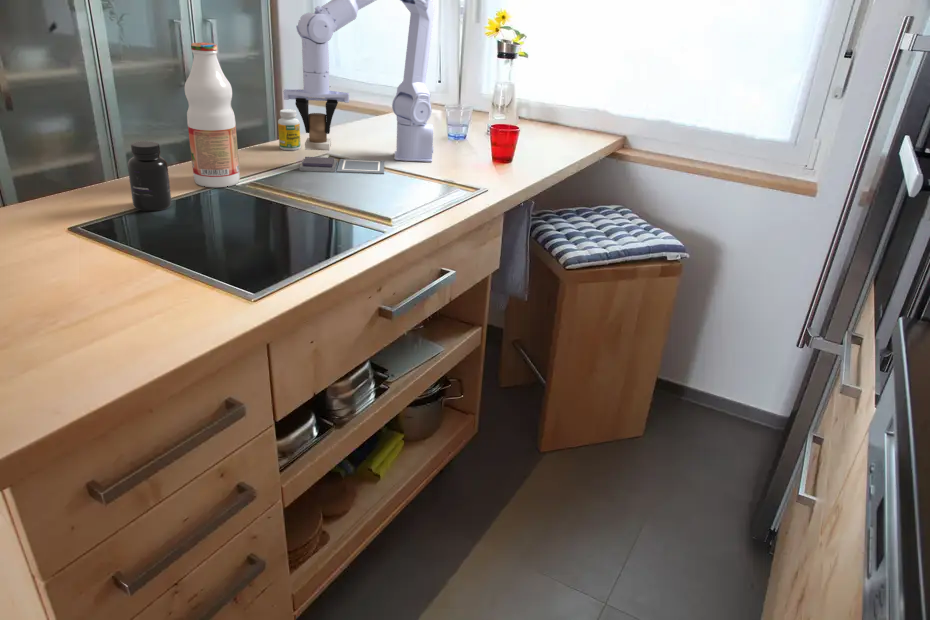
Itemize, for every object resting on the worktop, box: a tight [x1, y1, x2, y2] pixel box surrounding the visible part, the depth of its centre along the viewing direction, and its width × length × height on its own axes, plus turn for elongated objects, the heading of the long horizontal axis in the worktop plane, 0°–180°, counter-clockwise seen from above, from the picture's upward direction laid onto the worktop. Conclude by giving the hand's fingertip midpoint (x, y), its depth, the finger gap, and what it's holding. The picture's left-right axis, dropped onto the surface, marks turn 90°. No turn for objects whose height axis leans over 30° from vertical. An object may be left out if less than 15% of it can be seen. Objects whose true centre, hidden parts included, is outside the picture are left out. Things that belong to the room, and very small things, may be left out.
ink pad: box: [299, 156, 338, 173], centre depth 163 cm, size 8×7×2 cm
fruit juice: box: [184, 42, 241, 188], centre depth 141 cm, size 9×9×28 cm
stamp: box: [304, 112, 332, 152], centre depth 159 cm, size 6×6×8 cm
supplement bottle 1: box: [127, 140, 172, 212], centre depth 128 cm, size 7×7×12 cm
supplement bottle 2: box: [277, 108, 301, 151], centre depth 175 cm, size 5×5×10 cm
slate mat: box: [336, 158, 385, 175], centre depth 166 cm, size 11×11×1 cm
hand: (317, 132), depth 159 cm, fingers closed on stamp, 4 cm apart
